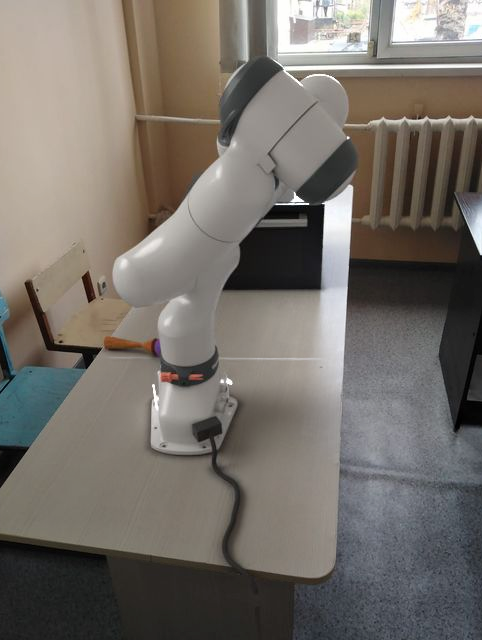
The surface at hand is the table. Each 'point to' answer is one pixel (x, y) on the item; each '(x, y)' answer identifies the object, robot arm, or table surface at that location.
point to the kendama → (133, 344)
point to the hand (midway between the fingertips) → (257, 207)
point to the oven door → (282, 250)
